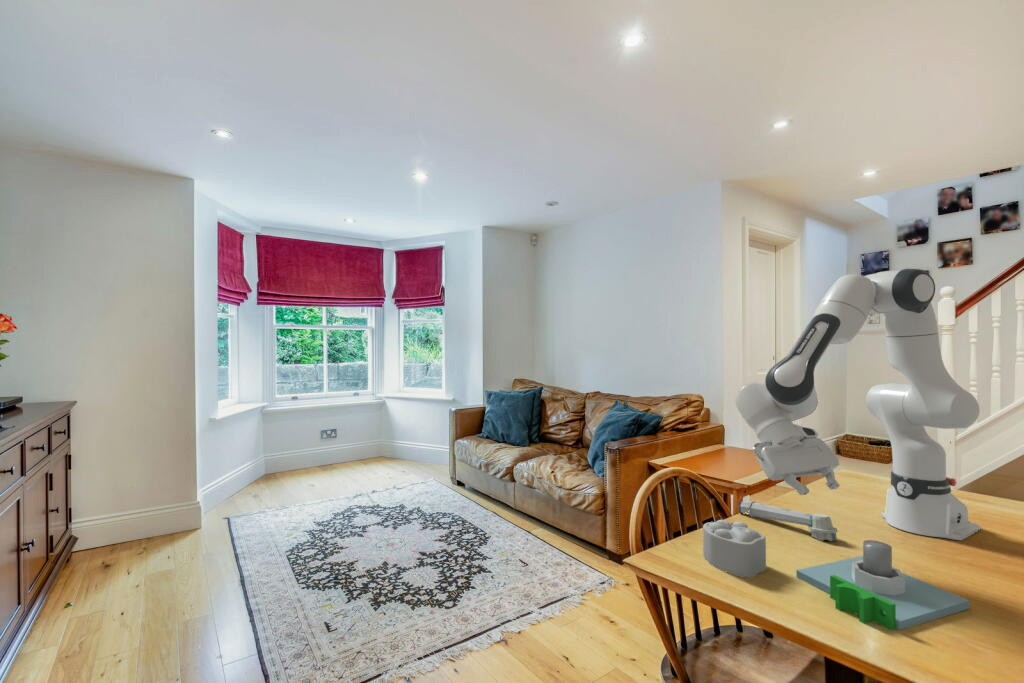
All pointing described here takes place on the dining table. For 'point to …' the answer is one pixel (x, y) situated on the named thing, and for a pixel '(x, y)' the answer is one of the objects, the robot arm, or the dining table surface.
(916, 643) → the dining table surface
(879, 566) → the gray domed peg
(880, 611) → the pipe clamp
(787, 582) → the dining table surface
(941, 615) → the duct base
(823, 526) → the angled head handheld tool
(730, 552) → the lumpy-topped squat cylinder
